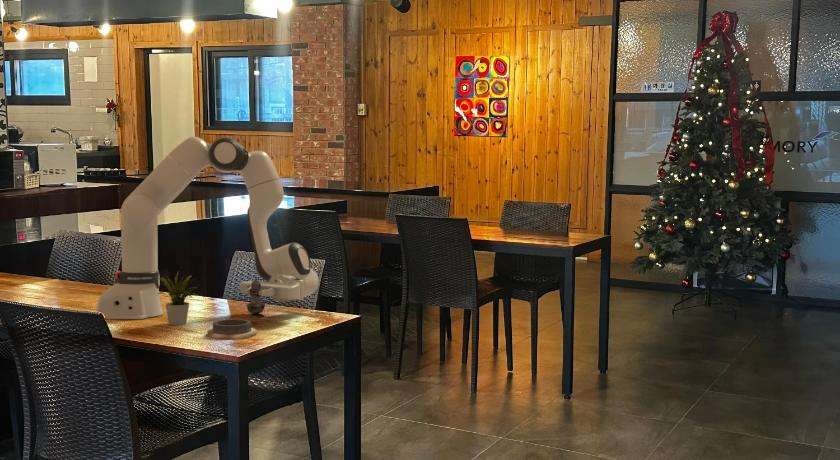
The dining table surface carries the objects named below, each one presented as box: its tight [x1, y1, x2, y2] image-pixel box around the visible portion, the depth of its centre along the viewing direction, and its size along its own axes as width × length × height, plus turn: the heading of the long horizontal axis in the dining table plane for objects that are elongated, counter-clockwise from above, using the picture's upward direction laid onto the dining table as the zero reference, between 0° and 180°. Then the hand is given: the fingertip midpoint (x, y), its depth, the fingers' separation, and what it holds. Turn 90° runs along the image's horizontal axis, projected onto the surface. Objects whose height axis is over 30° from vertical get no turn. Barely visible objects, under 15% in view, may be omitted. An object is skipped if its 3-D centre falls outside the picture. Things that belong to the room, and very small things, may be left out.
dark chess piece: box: [245, 277, 266, 319], centre depth 286 cm, size 6×6×12 cm
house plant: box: [153, 270, 198, 326], centre depth 284 cm, size 14×14×16 cm
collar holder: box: [206, 318, 258, 340], centre depth 270 cm, size 14×14×4 cm
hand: (254, 292), depth 286 cm, fingers closed on dark chess piece, 4 cm apart
